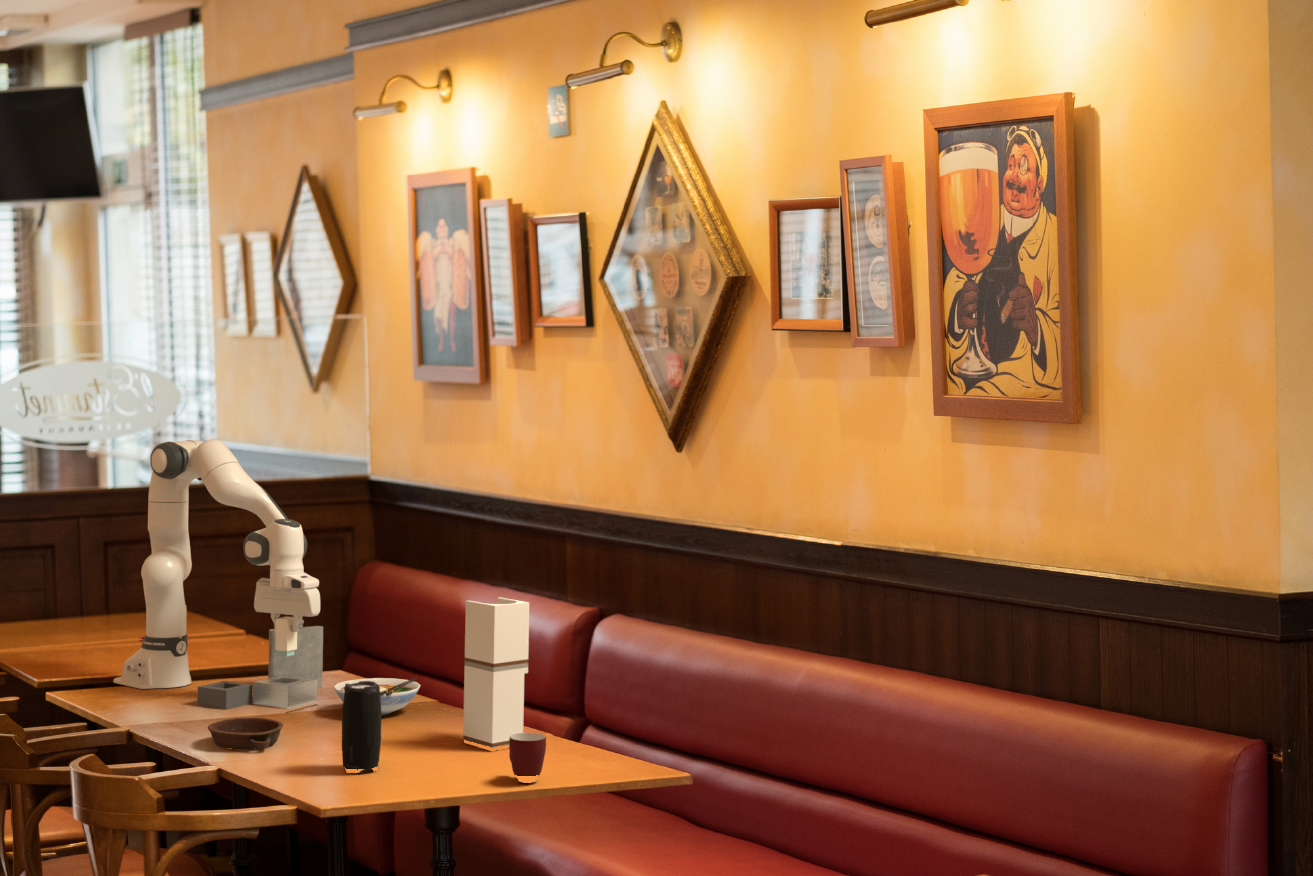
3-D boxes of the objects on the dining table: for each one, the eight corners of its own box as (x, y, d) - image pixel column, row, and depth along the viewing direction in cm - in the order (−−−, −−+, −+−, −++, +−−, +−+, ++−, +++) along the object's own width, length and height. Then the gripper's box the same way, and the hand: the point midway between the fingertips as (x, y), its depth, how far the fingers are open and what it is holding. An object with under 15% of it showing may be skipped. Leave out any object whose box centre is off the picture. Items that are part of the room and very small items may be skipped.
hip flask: (319, 685, 432) (320, 617, 431) (325, 688, 428) (326, 618, 428) (266, 690, 423) (267, 620, 422) (271, 693, 419) (272, 622, 419)
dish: (225, 759, 343) (226, 737, 343) (194, 740, 361) (194, 720, 361) (297, 750, 354) (298, 729, 354) (263, 732, 372) (263, 712, 371)
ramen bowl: (355, 701, 410) (355, 672, 410) (433, 706, 406) (434, 677, 405) (316, 720, 386) (317, 688, 386) (399, 725, 381) (400, 694, 381)
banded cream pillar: (526, 745, 362) (529, 602, 362) (492, 752, 355) (494, 605, 354) (497, 737, 371) (500, 597, 370) (463, 743, 363) (465, 600, 362)
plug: (275, 655, 400) (275, 618, 400) (285, 653, 404) (285, 616, 404) (287, 656, 399) (287, 619, 398) (296, 654, 402) (297, 617, 402)
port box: (252, 707, 399) (252, 681, 399) (282, 700, 410) (282, 674, 410) (287, 712, 394) (288, 686, 394) (317, 705, 405) (317, 679, 404)
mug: (493, 779, 330) (494, 734, 329) (521, 773, 335) (522, 729, 335) (525, 788, 322) (525, 742, 322) (552, 782, 328) (553, 737, 328)
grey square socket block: (197, 709, 396) (197, 686, 396) (223, 702, 405) (224, 680, 405) (226, 713, 391) (226, 690, 391) (252, 706, 400) (252, 684, 400)
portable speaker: (363, 763, 341) (364, 678, 341) (388, 770, 335) (390, 684, 335) (332, 769, 335) (334, 683, 334) (358, 777, 329) (359, 689, 328)
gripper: (248, 578, 403) (248, 629, 403) (308, 583, 394) (308, 635, 394) (264, 576, 408) (264, 626, 409) (324, 581, 399) (323, 632, 400)
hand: (286, 630), depth 401 cm, fingers closed on plug, 4 cm apart
